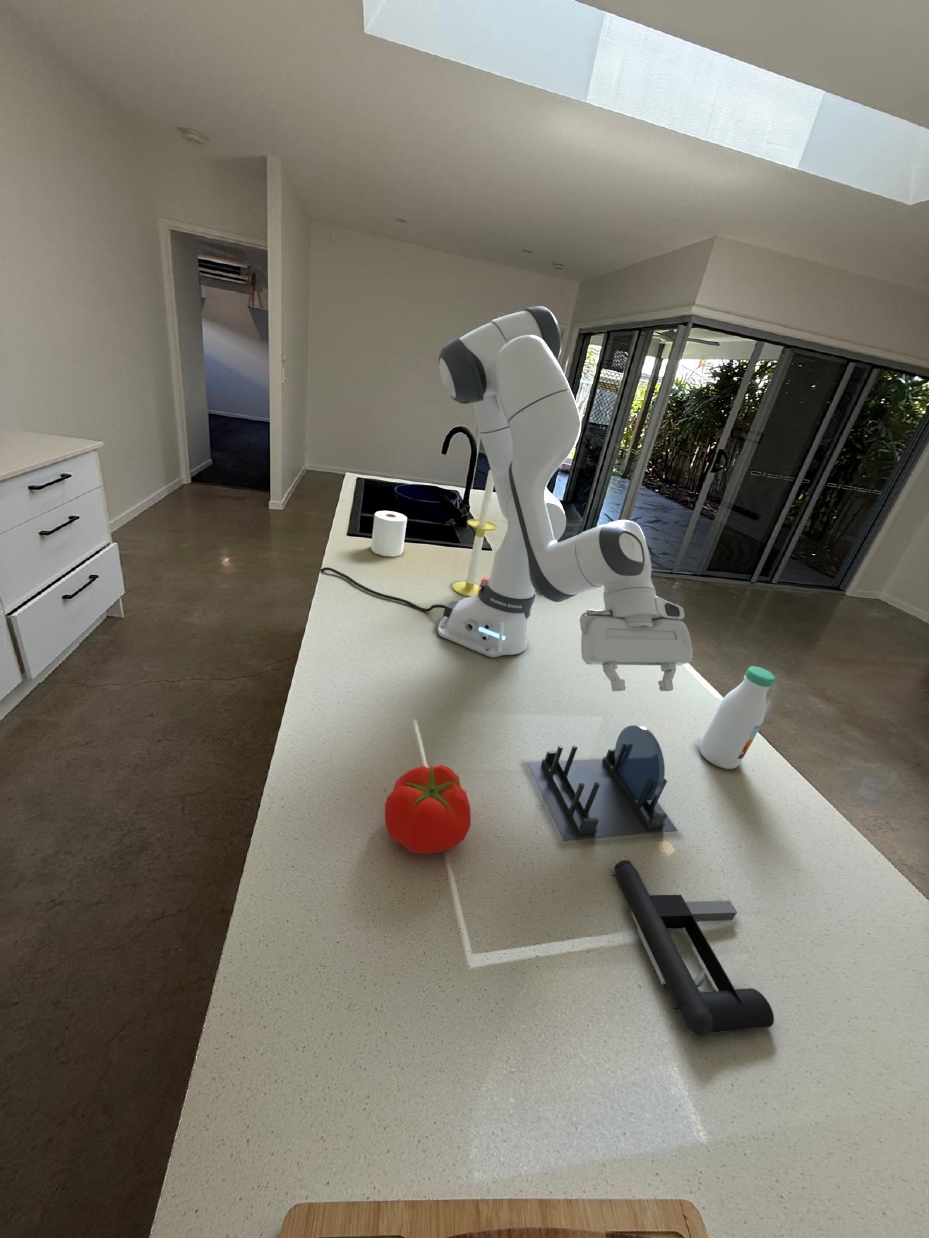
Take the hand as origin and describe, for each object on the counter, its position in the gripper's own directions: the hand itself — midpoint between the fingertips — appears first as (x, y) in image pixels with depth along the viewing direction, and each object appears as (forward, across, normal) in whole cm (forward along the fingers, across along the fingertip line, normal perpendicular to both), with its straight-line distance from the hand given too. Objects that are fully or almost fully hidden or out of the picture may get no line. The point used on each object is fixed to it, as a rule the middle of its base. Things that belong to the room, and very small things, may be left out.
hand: (643, 690), depth 85 cm
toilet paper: (-58, -29, +82) cm, 105 cm away
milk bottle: (+11, +25, +12) cm, 30 cm away
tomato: (+19, -37, +5) cm, 42 cm away
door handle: (+34, -6, -10) cm, 36 cm away
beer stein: (-52, +25, +76) cm, 95 cm away
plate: (+16, -1, +6) cm, 17 cm away
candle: (-40, -8, +64) cm, 75 cm away
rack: (+17, -7, +7) cm, 19 cm away
